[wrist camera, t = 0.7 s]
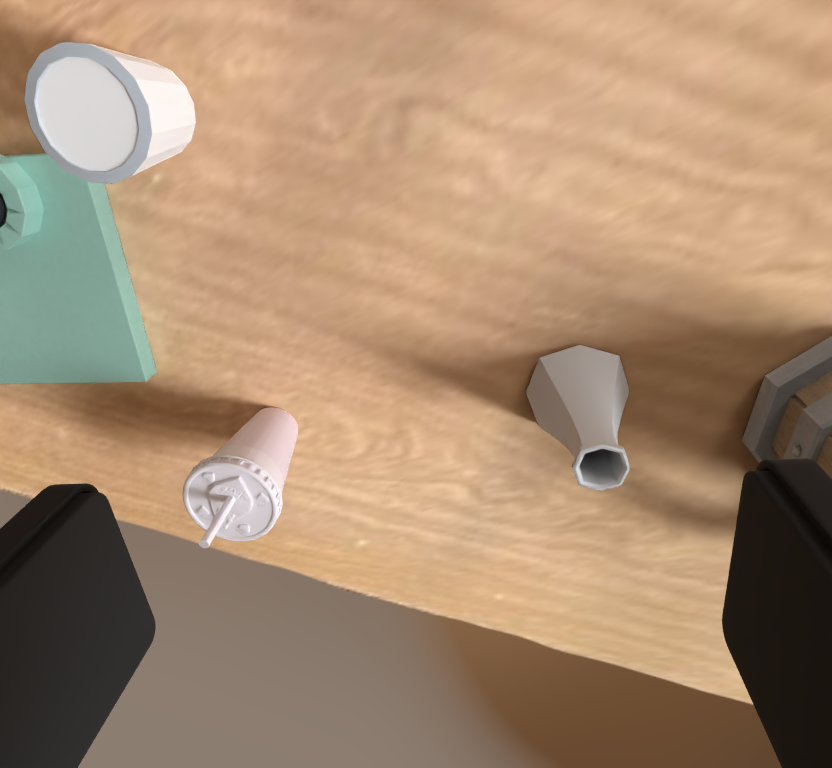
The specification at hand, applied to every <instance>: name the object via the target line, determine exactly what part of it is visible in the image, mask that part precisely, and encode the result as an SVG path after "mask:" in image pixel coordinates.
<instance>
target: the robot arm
mask: <svg viewBox="0 0 832 768" xmlns="http://www.w3.org/2000/svg"><path fill="white" fill-rule="evenodd" d="M722 625H723V632H724V637H725V641H726V643H727V646H728V649H729V651H730V653H731V655H732V657H733V660H734V662H735V664H736V666H737V669H738V671H739V673H740V675H741V677H742V680H743V682H744V684H745V686H746V688H747V691H748V693H749V695H750V697H751V700H752V702H753V704H754V706H755V708H756V711H757V713H758V715H759V717H760V719H761V722H762V724H763V726H764V728H765V731H766V733H767V735H768V737H769V740H770V742H771V744H772V746H773V748H774V751H775V753H776V755H777V757H778V760H779V762H780V764H781V766H782V768H832V479H831V478H830V477H829V476H828V475H827V473H826V472H825V471H824V470H823V469H822V468H821V467H820V466H819V465H818V464H817V463H816V462H815V461H814V460H812V459H808V458H803V459H775V460H763V461H761V462H760V463H759V465H758V467H757V470H756V471H748V472H747V473H746V474H745V476H744V479H743V483H742V490H741V497H740V503H739V510H738V516H737V523H736V530H735V536H734V543H733V550H732V556H731V563H730V569H729V576H728V583H727V589H726V596H725V603H724V609H723V616H722ZM154 634H155V620H154V616H153V614H152V611H151V609H150V606H149V604H148V601H147V599H146V596H145V593H144V591H143V588H142V586H141V583H140V580H139V578H138V575H137V573H136V570H135V568H134V565H133V562H132V560H131V558H130V555H129V552H128V550H127V547H126V545H125V542H124V540H123V537H122V534H121V532H120V529H119V527H118V524H117V522H116V519H115V516H114V514H113V511H112V509H111V506H110V504H109V501H108V499H107V498H106V496H105V495H104V494H102V493H99V492H98V490H97V489H96V488H95V487H94V486H93V485H90V484H60V485H51V486H48V487H47V488H45V489H44V490H42V491H41V492H40V493H39V494H38V495H37V496H36V497H35V498H34V499H32V500H31V501H30V502H29V503H28V504H27V505H26V506H25V507H24V508H23V509H21V510H20V511H19V512H18V513H17V514H16V515H15V516H14V517H13V518H12V519H10V521H8V522H7V523H6V524H5V525H4V526H3V527H2V528H1V529H0V768H78V766H79V764H80V763H81V761H82V759H83V758H84V756H85V754H86V753H87V750H88V749H89V747H90V746H91V744H92V743H93V741H94V739H95V737H96V736H97V734H98V732H99V731H100V729H101V727H102V726H103V724H104V722H105V721H106V719H107V717H108V716H109V714H110V712H111V710H112V709H113V707H114V706H115V704H116V702H117V700H118V699H119V697H120V696H121V694H122V692H123V691H124V689H125V687H126V685H127V684H128V682H129V680H130V679H131V677H132V675H133V674H134V672H135V670H136V669H137V667H138V665H139V664H140V662H141V660H142V658H143V657H144V655H145V653H146V652H147V650H148V649H149V647H150V645H151V643H152V641H153V638H154Z"/></svg>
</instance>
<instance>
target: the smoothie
mask: <svg viewBox="0 0 832 768" xmlns="http://www.w3.org/2000/svg"><path fill="white" fill-rule="evenodd" d="M297 436H298V425H297V423H296V421H295V419H294V418H293V417H292V416H291V415H290V414H289V413H288V412H286V411H285V410H282V409H280V408H275V407H268V408H264V409H262V410H260V411H259V412H257V413H256V414H255V415H254V416H253V417H252V418H251V419H250V420H249V421H248V422H247V423H246V424H245V425H244V426H243V427H242V428H241V429H240V430H239V431H238V432H237V433H236V434H235V435H234V436H233V437H231V438H230V439H229V440H228V441H227V442H226V443H225V444H224V445H223V446H222V447H221V448H220V449H219V450H218V451H217V452H216V453H215V454H214V455H213V456H211V457H209V458H207V459H205V460H202V461H200V462H199V463H198V464H197V465H196V466H195V467H194V468H193V469H192V471H191V473H190V475H189V476H188V478H187V479H186V481H185V484H184V487H183V501H184V504H185V507H186V509H187V511H188V513H189V515H190V516H191V517H192V519H193V520H194V521H195V522H196V523H197V524H198V525H199V526H200V527H201V528H203V529H204V530H205V531H206V533H205V535H204V536H203V538H202V539H201V541H200V543H199V544H200V546H201V547H203V548H208V547H209V545H210V543H211V541H212V540H213V538H214V536H217V537H219V538H222V539H226V540H230V541H250V540H254V539H257V538H259V537H261V536H263V535H265V534H266V533H267V532H269V531H270V530H271V528H272V527H273V526H274V524H275V522H276V520H277V519H278V517H279V515H280V513H281V509H282V490H283V486H284V482H285V479H286V475H287V472H288V468H289V465H290V461H291V457H292V454H293V450H294V447H295V443H296V440H297Z"/></svg>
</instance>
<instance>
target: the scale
mask: <svg viewBox="0 0 832 768" xmlns="http://www.w3.org/2000/svg"><path fill="white" fill-rule="evenodd" d="M0 194H1V196H2V198H3V200H4V203H5V207H6V214H5V217H4V219H3V221H2V222H1V223H0V384H43V383H102V382H146V381H148V380H149V379H150V378H151V377H152V376H153V375H154V374H155V373H157V371H156V367H155V363H154V360H153V356H152V353H151V349H150V346H149V342H148V339H147V335H146V331H145V328H144V324H143V321H142V317H141V314H140V310H139V306H138V303H137V299H136V296H135V292H134V289H133V285H132V282H131V278H130V274H129V271H128V267H127V264H126V260H125V257H124V253H123V249H122V246H121V242H120V239H119V235H118V232H117V228H116V225H115V221H114V217H113V214H112V210H111V207H110V203H109V200H108V196H107V192H106V189H105V185H104V183H91V182H87V181H85V180H83V179H81V178H79V177H76V176H74V175H72V174H70V173H68V172H66V171H65V170H63V169H62V168H61V167H60V166H59V165H58V164H57V163H56V162H55V161H54V160H53V159H52V158H51V157H50V156H49V155H48V154H47V153H36V154H21V155H6V156H3V155H1V154H0Z"/></svg>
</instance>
